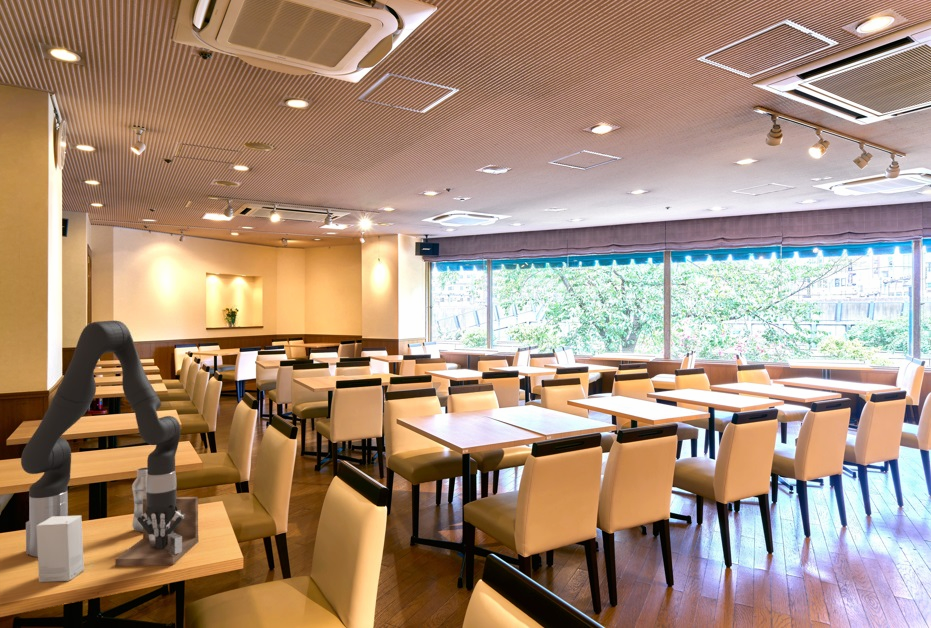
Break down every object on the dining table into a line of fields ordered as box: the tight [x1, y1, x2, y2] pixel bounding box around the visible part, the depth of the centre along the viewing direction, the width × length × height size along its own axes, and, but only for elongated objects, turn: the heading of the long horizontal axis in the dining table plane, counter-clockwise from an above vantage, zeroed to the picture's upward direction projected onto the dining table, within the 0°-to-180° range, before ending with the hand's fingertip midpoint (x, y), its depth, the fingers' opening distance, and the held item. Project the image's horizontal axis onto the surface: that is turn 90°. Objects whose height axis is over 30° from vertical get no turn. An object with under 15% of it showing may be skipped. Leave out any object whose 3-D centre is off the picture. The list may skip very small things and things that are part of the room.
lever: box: [149, 526, 182, 554], centre depth 164 cm, size 14×6×5 cm, turn 53°
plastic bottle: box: [131, 467, 147, 532], centre depth 183 cm, size 6×7×20 cm
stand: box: [114, 496, 199, 567], centre depth 166 cm, size 16×16×14 cm
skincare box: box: [36, 515, 85, 583], centre depth 151 cm, size 8×7×16 cm
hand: (161, 548), depth 160 cm, fingers closed
